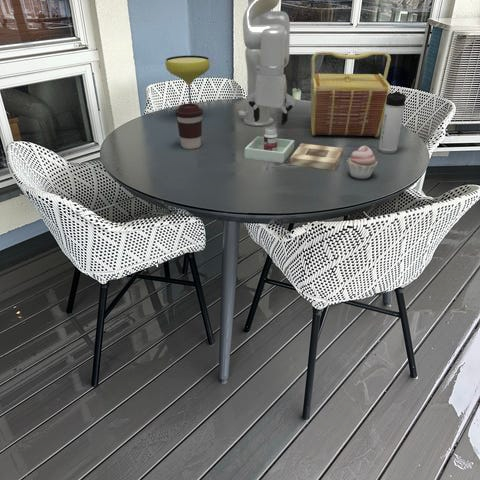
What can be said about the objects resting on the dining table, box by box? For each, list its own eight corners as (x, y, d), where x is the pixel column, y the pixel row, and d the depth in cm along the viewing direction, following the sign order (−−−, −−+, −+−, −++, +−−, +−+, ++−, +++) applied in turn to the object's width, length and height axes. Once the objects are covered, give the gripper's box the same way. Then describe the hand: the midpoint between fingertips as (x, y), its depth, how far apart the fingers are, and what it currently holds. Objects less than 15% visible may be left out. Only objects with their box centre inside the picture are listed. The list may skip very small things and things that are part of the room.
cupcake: (357, 183, 138) (361, 152, 133) (339, 172, 146) (343, 142, 140) (381, 178, 141) (386, 147, 136) (363, 168, 149) (367, 138, 143)
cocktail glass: (189, 111, 208) (185, 54, 195) (220, 118, 199) (218, 57, 186) (161, 121, 196) (155, 60, 183) (193, 128, 187) (189, 64, 174)
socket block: (290, 164, 152) (290, 157, 150) (300, 150, 164) (301, 143, 162) (334, 170, 147) (335, 163, 146) (342, 154, 159) (343, 148, 158)
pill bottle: (263, 149, 162) (263, 126, 158) (276, 149, 163) (277, 126, 158) (264, 154, 158) (264, 130, 154) (277, 154, 158) (278, 130, 154)
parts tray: (244, 158, 157) (244, 148, 155) (257, 145, 168) (257, 136, 167) (283, 163, 153) (283, 153, 151) (293, 149, 164) (294, 140, 162)
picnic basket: (374, 122, 192) (385, 46, 177) (385, 142, 170) (399, 57, 155) (305, 120, 195) (310, 46, 179) (307, 140, 173) (313, 57, 157)
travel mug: (396, 148, 164) (406, 92, 154) (396, 154, 159) (406, 97, 148) (379, 146, 166) (387, 91, 156) (377, 152, 161) (386, 95, 150)
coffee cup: (209, 143, 170) (207, 103, 162) (196, 152, 163) (193, 110, 155) (186, 140, 174) (183, 100, 166) (172, 148, 166) (169, 107, 158)
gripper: (242, 70, 146) (243, 122, 155) (294, 75, 141) (291, 128, 150) (250, 66, 152) (250, 116, 161) (300, 69, 147) (297, 121, 156)
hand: (270, 122), depth 155 cm, fingers open, 9 cm apart
